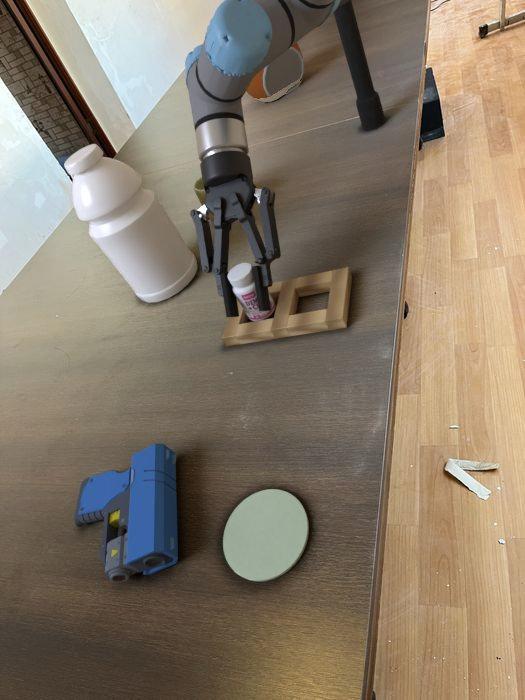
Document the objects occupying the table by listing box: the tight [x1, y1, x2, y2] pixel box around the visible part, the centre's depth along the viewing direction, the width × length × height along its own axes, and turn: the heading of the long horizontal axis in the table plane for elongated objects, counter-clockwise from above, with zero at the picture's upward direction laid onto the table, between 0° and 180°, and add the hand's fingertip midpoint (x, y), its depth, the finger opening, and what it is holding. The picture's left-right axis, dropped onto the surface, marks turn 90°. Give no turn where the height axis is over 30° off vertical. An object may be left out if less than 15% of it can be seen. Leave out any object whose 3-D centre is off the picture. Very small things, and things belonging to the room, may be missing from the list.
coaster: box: [222, 488, 310, 583], centre depth 53 cm, size 10×10×1 cm
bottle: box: [63, 143, 198, 304], centre depth 90 cm, size 14×14×28 cm
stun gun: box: [73, 443, 179, 583], centre depth 61 cm, size 4×16×15 cm
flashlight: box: [332, 0, 386, 131], centre depth 100 cm, size 5×24×5 cm
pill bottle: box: [228, 262, 276, 322], centre depth 75 cm, size 5×5×8 cm
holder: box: [221, 266, 353, 347], centre depth 76 cm, size 20×11×2 cm, turn 79°
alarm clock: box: [245, 42, 305, 99], centre depth 141 cm, size 19×18×17 cm
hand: (248, 313), depth 73 cm, fingers closed on pill bottle, 5 cm apart
